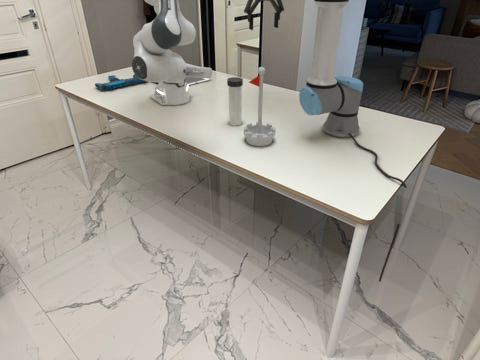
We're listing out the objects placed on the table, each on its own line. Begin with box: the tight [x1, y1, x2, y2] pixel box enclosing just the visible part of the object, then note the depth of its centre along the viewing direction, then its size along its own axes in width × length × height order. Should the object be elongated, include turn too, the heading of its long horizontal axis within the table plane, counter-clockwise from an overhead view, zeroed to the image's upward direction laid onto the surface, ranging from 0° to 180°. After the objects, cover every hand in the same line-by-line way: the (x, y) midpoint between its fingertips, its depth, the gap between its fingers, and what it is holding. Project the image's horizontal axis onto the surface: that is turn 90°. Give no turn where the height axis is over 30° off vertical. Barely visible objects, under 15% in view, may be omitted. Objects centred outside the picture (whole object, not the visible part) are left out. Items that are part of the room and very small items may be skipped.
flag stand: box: [243, 66, 276, 147], centre depth 134 cm, size 13×13×30 cm
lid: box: [226, 76, 244, 87], centre depth 147 cm, size 7×7×2 cm
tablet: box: [185, 76, 212, 87], centre depth 217 cm, size 32×20×1 cm, turn 41°
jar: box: [228, 86, 242, 127], centre depth 152 cm, size 6×6×20 cm
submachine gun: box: [94, 73, 147, 91], centre depth 208 cm, size 34×4×25 cm
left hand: (201, 71), depth 132 cm, fingers open, 8 cm apart
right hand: (263, 28), depth 163 cm, fingers open, 13 cm apart
